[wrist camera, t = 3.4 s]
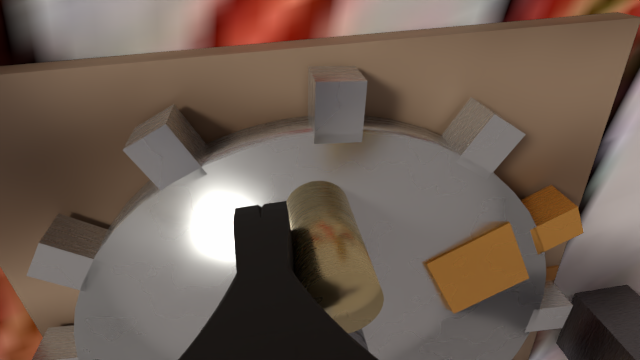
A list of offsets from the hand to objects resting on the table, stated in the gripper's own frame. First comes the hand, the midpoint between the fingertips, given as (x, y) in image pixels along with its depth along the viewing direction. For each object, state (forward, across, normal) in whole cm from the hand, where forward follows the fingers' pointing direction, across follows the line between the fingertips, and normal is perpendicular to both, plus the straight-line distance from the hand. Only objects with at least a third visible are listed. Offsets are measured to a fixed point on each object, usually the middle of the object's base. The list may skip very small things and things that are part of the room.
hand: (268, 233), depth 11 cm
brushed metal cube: (+4, -16, +12) cm, 21 cm away
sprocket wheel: (+3, -1, +7) cm, 8 cm away
